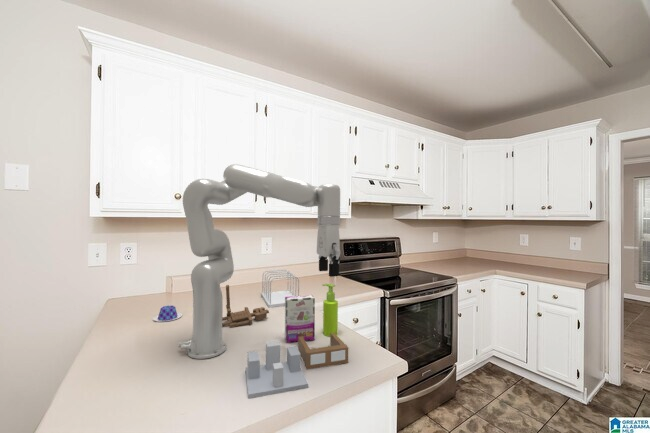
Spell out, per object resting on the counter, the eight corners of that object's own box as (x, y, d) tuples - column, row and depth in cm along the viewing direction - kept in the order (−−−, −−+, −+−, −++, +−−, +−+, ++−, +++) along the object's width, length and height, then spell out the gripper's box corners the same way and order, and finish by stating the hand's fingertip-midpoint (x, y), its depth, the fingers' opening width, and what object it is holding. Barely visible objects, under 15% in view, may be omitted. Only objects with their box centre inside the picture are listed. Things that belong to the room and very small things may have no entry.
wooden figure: (208, 286, 123) (264, 276, 134) (210, 321, 128) (265, 309, 139) (211, 302, 111) (273, 290, 122) (213, 341, 115) (273, 326, 126)
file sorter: (260, 295, 171) (261, 270, 171) (288, 293, 178) (289, 268, 178) (268, 308, 148) (269, 278, 148) (300, 304, 154) (300, 276, 155)
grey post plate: (248, 398, 73) (248, 367, 73) (245, 370, 86) (245, 344, 86) (308, 387, 78) (308, 358, 78) (296, 362, 91) (297, 338, 91)
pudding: (173, 323, 125) (173, 311, 126) (146, 322, 126) (147, 311, 126) (187, 314, 137) (187, 303, 138) (162, 313, 138) (162, 303, 138)
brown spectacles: (306, 369, 87) (307, 353, 87) (297, 351, 99) (297, 337, 99) (348, 363, 92) (348, 347, 92) (334, 346, 104) (334, 332, 104)
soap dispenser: (327, 329, 120) (327, 281, 120) (340, 333, 116) (340, 284, 116) (318, 333, 115) (318, 284, 116) (331, 337, 111) (332, 286, 111)
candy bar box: (312, 335, 113) (312, 294, 114) (314, 340, 109) (315, 297, 109) (284, 338, 110) (284, 296, 111) (285, 343, 106) (286, 299, 106)
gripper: (310, 221, 101) (309, 269, 101) (327, 222, 85) (326, 279, 84) (329, 221, 103) (329, 268, 103) (350, 222, 87) (349, 277, 87)
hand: (328, 273), depth 94 cm, fingers open, 9 cm apart
